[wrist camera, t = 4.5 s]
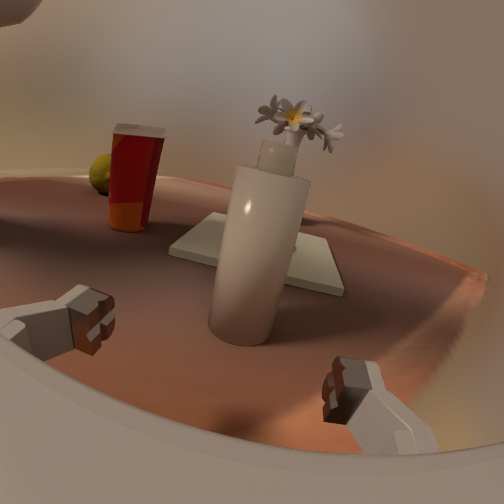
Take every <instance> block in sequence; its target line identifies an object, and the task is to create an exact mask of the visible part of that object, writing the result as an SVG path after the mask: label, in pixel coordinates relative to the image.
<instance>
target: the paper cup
mask: <svg viewBox="0 0 504 504" xmlns="http://www.w3.org/2000/svg"><path fill="white" fill-rule="evenodd" d="M112 133H113V142H112V153H111V166H110V183H109V226H110V227H111V228H112V229H114V230H117V231H122V232H139V231H143V230H145V229H146V227H147V223H148V218H149V212H150V207H151V201H152V196H153V190H154V185H155V180H156V175H157V170H158V165H159V161H160V156H161V151H162V147H163V143H164V139H165V138H167V137H166V136H165V128H159V127H151V126H142V125H132V124H117V125H116V127H115V129H114V131H112Z"/></svg>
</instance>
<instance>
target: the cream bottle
mask: <svg viewBox="0 0 504 504" xmlns="http://www.w3.org/2000/svg"><path fill="white" fill-rule="evenodd" d="M298 149H299V148H298V147H295V146H291V145H287V144H283V143H279V142H274V141H268V140H263V141H262V145H261V150H260V154H259V159H258V163H257V167H254V166H248V165H237V167H236V171H235V176H234V181H233V186H232V191H231V196H230V201H229V206H228V211H227V217H226V222H225V227H224V232H223V238H222V243H221V248H220V254H219V259H218V265H217V271H216V276H215V282H214V288H213V294H212V300H211V305H210V311H209V318H208V326H209V328H210V330H211V331H212V333H213V334H214V335H216V336H217V337H218V338H220V339H221V340H223V341H226V342H228V343H231V344H235V345H240V346H253V345H258V344H261V343H263V342H265V341H266V340H267V339H268V337H269V335H270V332H271V329H272V325H273V322H274V319H275V315H276V312H277V308H278V305H279V301H280V298H281V294H282V291H283V287H284V284H285V280H286V277H287V273H288V270H289V266H290V262H291V259H292V255H293V251H294V248H295V244H296V240H297V236H298V232H299V229H300V225H301V221H302V217H303V213H304V209H305V205H306V201H307V197H308V193H309V189H310V185H311V181H309V180H307V179H304V178H300V177H297V176H294V175H293V171H294V166H295V162H296V158H297V153H298Z"/></svg>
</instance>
